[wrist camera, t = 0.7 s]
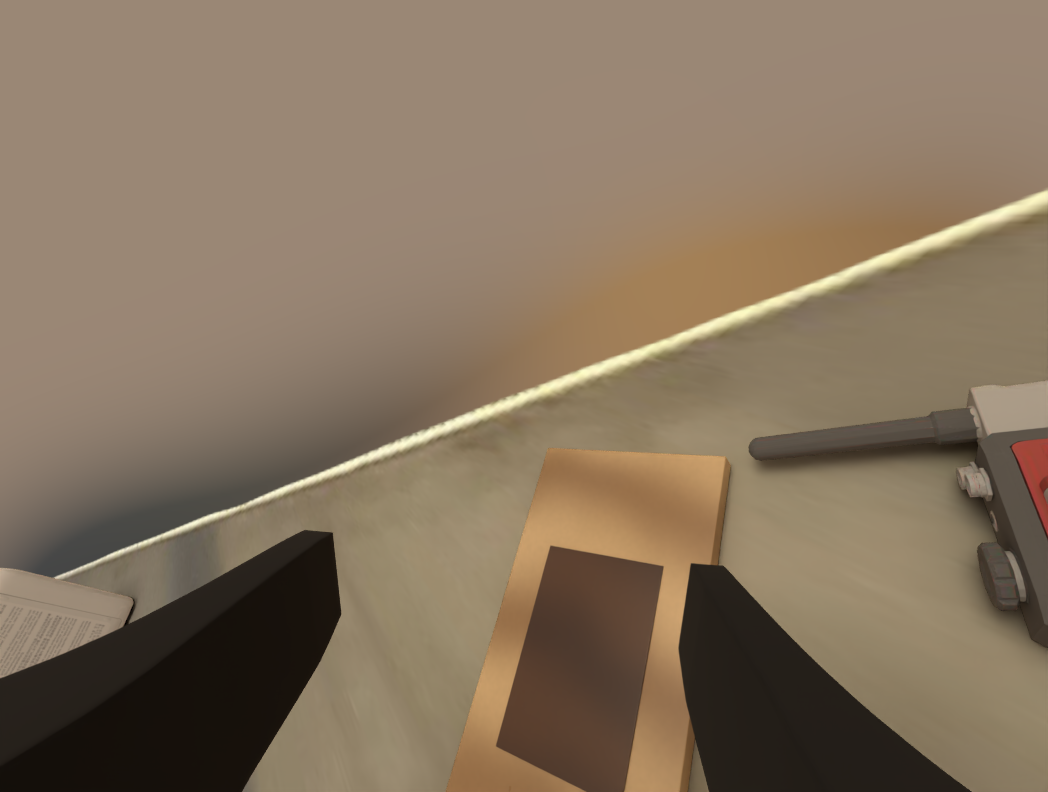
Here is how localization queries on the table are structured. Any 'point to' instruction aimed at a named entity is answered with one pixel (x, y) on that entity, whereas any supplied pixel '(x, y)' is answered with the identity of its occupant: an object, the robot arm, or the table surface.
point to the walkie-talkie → (975, 480)
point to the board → (596, 629)
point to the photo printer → (51, 617)
